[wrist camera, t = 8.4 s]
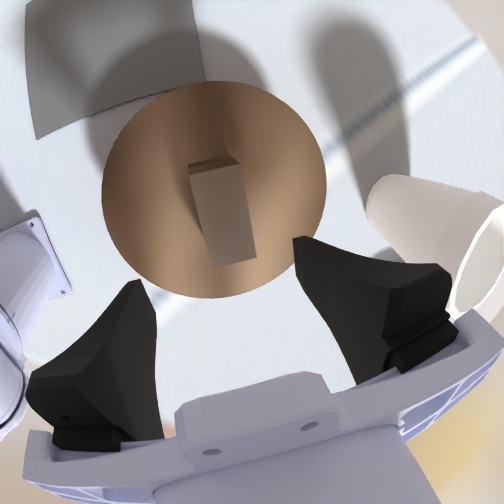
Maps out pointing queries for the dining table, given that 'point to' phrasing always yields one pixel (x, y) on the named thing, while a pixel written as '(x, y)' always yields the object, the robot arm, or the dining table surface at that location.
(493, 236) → the foam cup
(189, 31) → the mat
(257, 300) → the dining table surface
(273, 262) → the lid
